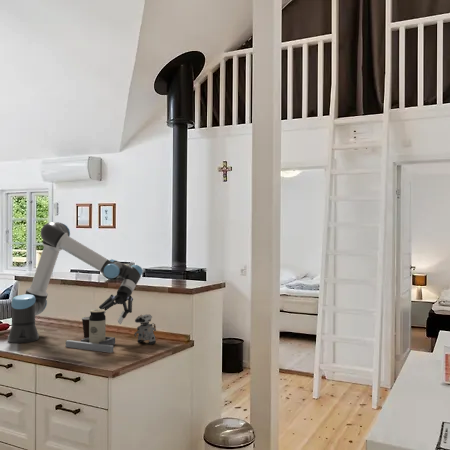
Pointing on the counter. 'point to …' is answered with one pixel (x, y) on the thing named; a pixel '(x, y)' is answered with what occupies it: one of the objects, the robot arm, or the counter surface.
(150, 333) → the figurine
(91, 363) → the counter surface
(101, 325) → the travel mug
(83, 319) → the coffee mug
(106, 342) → the grey square frame
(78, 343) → the rail
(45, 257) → the robot arm
